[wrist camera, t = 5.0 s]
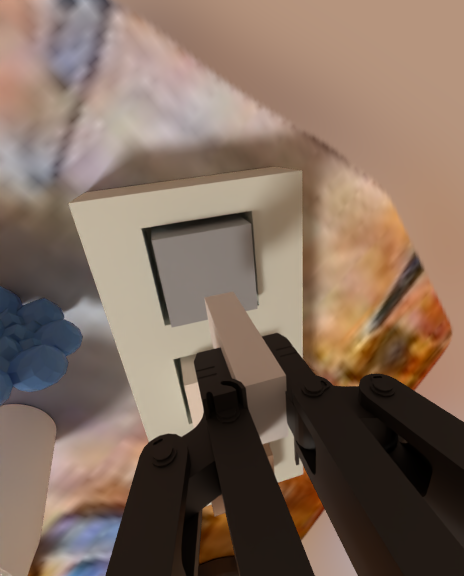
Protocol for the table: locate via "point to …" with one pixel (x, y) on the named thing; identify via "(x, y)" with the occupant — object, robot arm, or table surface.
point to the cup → (23, 483)
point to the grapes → (33, 344)
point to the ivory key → (192, 388)
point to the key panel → (149, 293)
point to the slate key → (204, 264)
